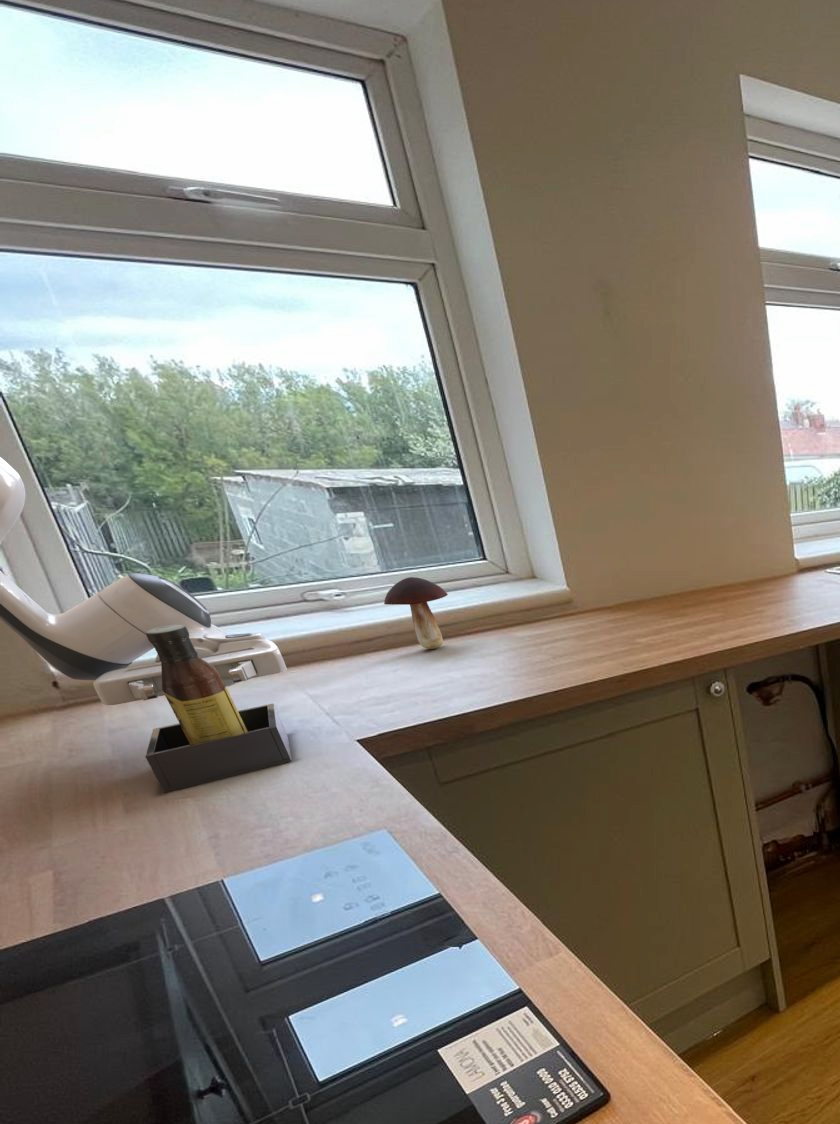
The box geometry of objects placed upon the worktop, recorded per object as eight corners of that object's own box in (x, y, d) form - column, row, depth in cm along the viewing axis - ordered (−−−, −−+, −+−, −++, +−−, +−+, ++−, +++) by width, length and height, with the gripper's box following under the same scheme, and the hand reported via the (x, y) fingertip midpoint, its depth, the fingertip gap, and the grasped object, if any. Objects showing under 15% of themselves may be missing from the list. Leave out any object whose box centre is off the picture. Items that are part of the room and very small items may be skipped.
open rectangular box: (164, 793, 109) (145, 756, 107) (170, 763, 119) (152, 728, 117) (291, 761, 117) (276, 726, 115) (287, 735, 127) (273, 703, 125)
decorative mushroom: (475, 642, 172) (452, 572, 166) (425, 658, 163) (399, 585, 157) (439, 639, 176) (416, 570, 170) (389, 654, 167) (362, 582, 160)
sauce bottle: (215, 753, 120) (153, 624, 112) (265, 747, 122) (207, 618, 114) (190, 772, 114) (122, 636, 106) (242, 764, 116) (180, 630, 108)
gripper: (90, 660, 116) (77, 682, 106) (273, 630, 128) (276, 647, 119) (111, 701, 119) (100, 726, 109) (289, 667, 131) (293, 687, 121)
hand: (193, 684), depth 114 cm, fingers open, 8 cm apart
